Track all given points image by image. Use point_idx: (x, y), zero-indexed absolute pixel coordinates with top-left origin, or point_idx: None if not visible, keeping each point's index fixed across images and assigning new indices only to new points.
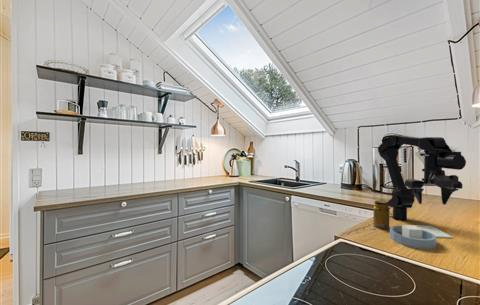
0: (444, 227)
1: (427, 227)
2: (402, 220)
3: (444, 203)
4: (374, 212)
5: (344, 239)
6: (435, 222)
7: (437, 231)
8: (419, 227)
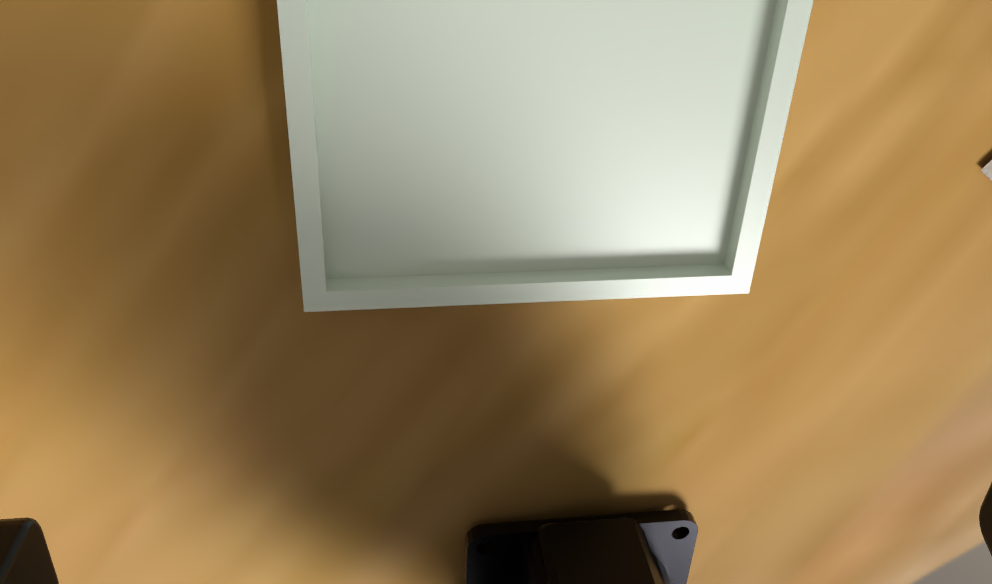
0: (7, 361)
1: (386, 266)
2: (606, 520)
3: (22, 560)
4: None
5: None
6: None
7: (329, 65)
8: (546, 243)
